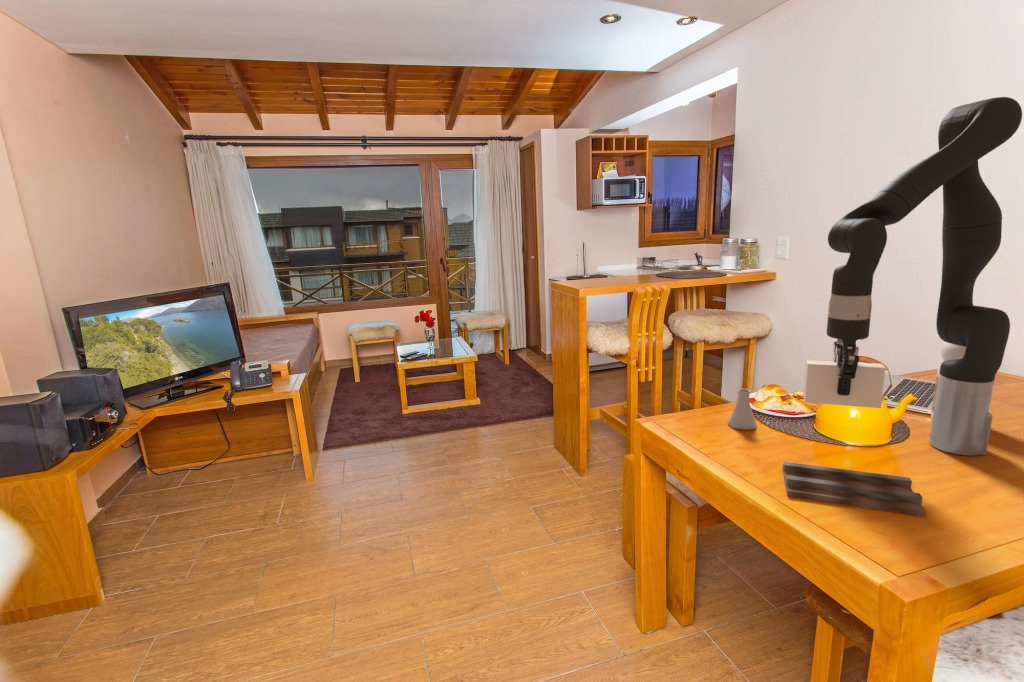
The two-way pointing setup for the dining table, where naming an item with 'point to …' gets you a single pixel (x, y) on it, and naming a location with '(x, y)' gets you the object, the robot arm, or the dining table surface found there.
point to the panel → (825, 384)
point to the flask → (742, 412)
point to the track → (853, 498)
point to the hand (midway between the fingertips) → (841, 391)
